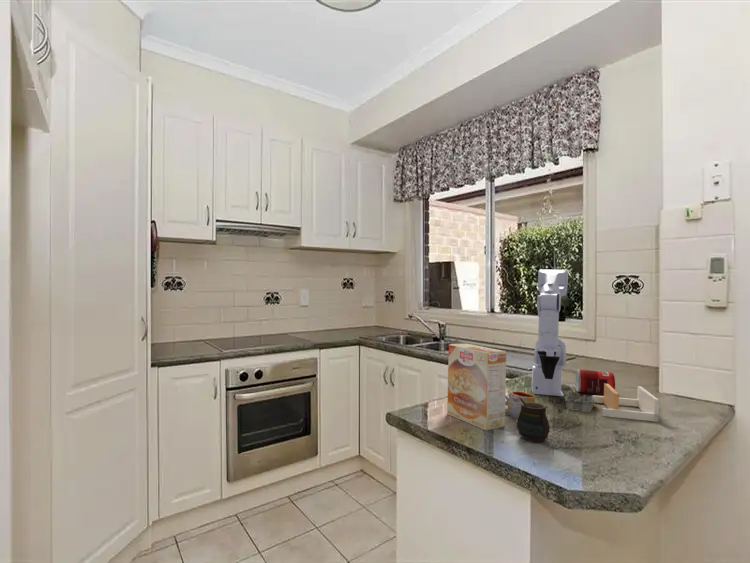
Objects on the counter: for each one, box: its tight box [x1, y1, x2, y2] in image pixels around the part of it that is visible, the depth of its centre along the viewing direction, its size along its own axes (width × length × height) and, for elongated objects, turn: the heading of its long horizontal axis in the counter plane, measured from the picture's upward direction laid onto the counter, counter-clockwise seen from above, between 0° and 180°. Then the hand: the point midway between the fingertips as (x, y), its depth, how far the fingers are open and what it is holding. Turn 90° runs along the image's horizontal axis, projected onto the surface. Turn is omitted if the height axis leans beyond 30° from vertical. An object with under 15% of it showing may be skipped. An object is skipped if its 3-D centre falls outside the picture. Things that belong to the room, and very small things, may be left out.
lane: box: [591, 385, 660, 423], centre depth 123 cm, size 14×16×6 cm
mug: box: [505, 390, 536, 421], centre depth 116 cm, size 12×7×7 cm, turn 53°
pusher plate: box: [603, 384, 620, 410], centre depth 124 cm, size 1×13×6 cm, turn 163°
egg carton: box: [565, 389, 596, 413], centre depth 126 cm, size 11×8×4 cm
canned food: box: [575, 369, 616, 395], centre depth 143 cm, size 8×8×11 cm
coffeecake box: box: [446, 342, 507, 431], centre depth 111 cm, size 15×7×20 cm, turn 31°
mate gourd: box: [516, 398, 551, 443], centre depth 99 cm, size 7×8×10 cm
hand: (547, 376), depth 129 cm, fingers open, 7 cm apart
